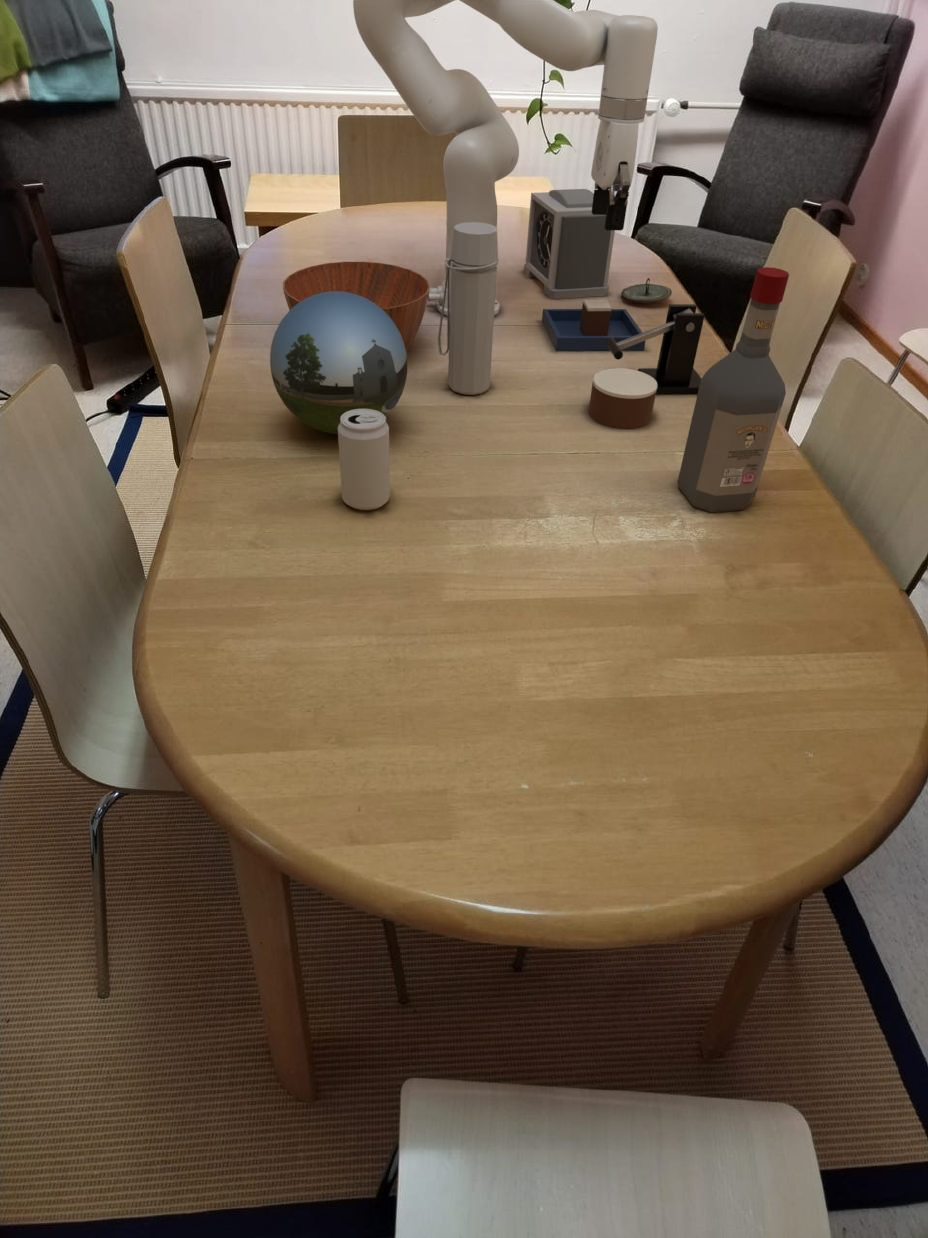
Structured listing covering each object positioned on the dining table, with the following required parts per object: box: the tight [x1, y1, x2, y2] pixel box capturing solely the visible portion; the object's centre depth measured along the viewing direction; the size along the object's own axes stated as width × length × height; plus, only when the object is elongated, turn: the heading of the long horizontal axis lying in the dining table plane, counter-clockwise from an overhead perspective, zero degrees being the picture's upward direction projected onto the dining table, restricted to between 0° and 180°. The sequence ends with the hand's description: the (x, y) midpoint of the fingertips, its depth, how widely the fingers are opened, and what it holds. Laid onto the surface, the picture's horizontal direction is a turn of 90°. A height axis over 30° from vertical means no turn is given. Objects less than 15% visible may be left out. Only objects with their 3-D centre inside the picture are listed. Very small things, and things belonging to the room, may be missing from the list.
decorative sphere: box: [269, 291, 408, 435], centre depth 122 cm, size 20×20×20 cm
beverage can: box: [337, 409, 391, 511], centre depth 109 cm, size 6×6×12 cm
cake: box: [588, 367, 657, 430], centre depth 134 cm, size 10×10×6 cm
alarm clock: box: [523, 188, 616, 300], centre depth 178 cm, size 18×13×18 cm
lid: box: [620, 277, 673, 304], centre depth 176 cm, size 11×10×5 cm
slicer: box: [637, 303, 706, 396], centre depth 141 cm, size 10×8×13 cm
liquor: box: [677, 266, 790, 513], centre depth 108 cm, size 9×9×30 cm
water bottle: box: [437, 222, 500, 396], centre depth 133 cm, size 9×8×25 cm
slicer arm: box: [606, 309, 693, 360], centre depth 139 cm, size 14×6×2 cm, turn 96°
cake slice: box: [580, 299, 613, 336], centre depth 159 cm, size 4×4×6 cm
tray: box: [541, 308, 647, 352], centre depth 160 cm, size 17×15×2 cm
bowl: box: [282, 261, 431, 352], centre depth 148 cm, size 25×25×11 cm
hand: (606, 221), depth 148 cm, fingers open, 9 cm apart
